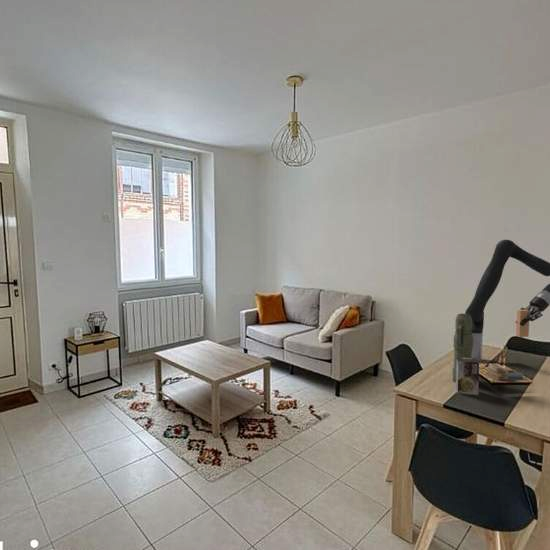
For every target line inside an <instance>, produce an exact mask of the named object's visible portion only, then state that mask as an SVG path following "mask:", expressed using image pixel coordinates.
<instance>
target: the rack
mask: <svg viewBox="0 0 550 550" xmlns="http://www.w3.org/2000/svg"><path fill="white" fill-rule="evenodd" d="M505 371H508V372H509V376H508V380H497V379H495V378H493V377H492V376H490V375H488V374H487V372H486V373H484V374H485V375H487V376H488V377H490V378H492V379H493V380H496V381H497V382H509V381H510V382H511V381H512V382H515V381H516V382H517V381H529V378H525V377H524V373H523V372H518V370H517V369H505Z"/></svg>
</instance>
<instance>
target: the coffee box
mask: <svg viewBox="0 0 550 550" xmlns="http://www.w3.org/2000/svg"><path fill="white" fill-rule="evenodd" d="M479 381H480V361H479V362H478V360H477V358H466V357H456V382H455V389H456V393H457V394H461V395H471V396H472V395H473V396H479V392H480V391H479V388H480V387H479V384H480V383H479Z"/></svg>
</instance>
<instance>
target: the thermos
mask: <svg viewBox="0 0 550 550" xmlns="http://www.w3.org/2000/svg"><path fill="white" fill-rule="evenodd" d="M455 317H456V318H455V322H454V323H455V324H454V325H455V327H454V329H455V332H454V335H453V349H454V355H453V357H454V359H453V367H452V381H453V382H454V383H456V357H466V358H472V349H473V337H472V318H471V316H470V315H469V314H465V313H458V314H457V315H456V316H455Z"/></svg>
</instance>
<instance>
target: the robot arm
mask: <svg viewBox="0 0 550 550" xmlns="http://www.w3.org/2000/svg"><path fill="white" fill-rule="evenodd" d="M509 258H512V259H514V260H517V261H519V262H520V263H522V264H524V265H526V266H527V267H529V269H532V270H533V271H535V272H536V273H538V274H540V275H542V276H544V277H550V262H549V261H547V260H544V259H542V258H541V257H538V256H536V255H534V254H532V253H530V252H528V251H526V250H525V249H523V248H522V247H521V246H519V245H518V244H517V243H515V242H514V241H513V240H510V239H502V240H500V241H498V242H497V244H496V245H495V248H494V252H493V255H492V257H491V260H490V262H489V264H488V265H487V267H486V269H485V270H484V272H483V274H482V276H481V279H480V280H479V283H478V285H477V287H476V290H475V294H474V297H473V298H472V300H471V302H470V303H469V305H468V307H467V308H466V310H465V313H464V314H469V315H470V316H471V318H472V337H473V349H472V358H477V360H478V362H479V363H480V362H482V361H483V360H482V359H483V335H484V332H483V331H484V324H485V323H484V322H485V321H484V320H485V319H484V318H485V312H484V311H485V308H486V305H487V303H488V301H490V299H491V298H492V296H493V295H494V293H495V291H496V289H497V288H498V285H499V283H500V282H501V279H502V277H503V276H502V275H503V272H504V268H505V265H506V264H507V262H508V260H509ZM549 306H550V283H549V284H547V285H546V286H545V287H543V288H542V290H541V291H539V292H538V293H537V294H536V295H535V296H534V297H533V298H532V299H531V300H530V301H529V304H528V306H526V307H521V308H520V309H519V310H529V312H528V313H527V316H526V317H525V318H524V319H523V320H522V321H521V322H520V325H521V326H524V325H525V324H526V323H527V322H528V321H529V322H534V321H535V320H537V319H539V318H541V317H543V312H544V311H545V310H546V309H548V308H549ZM515 323H516V324H517V320H516V321H515Z"/></svg>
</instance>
